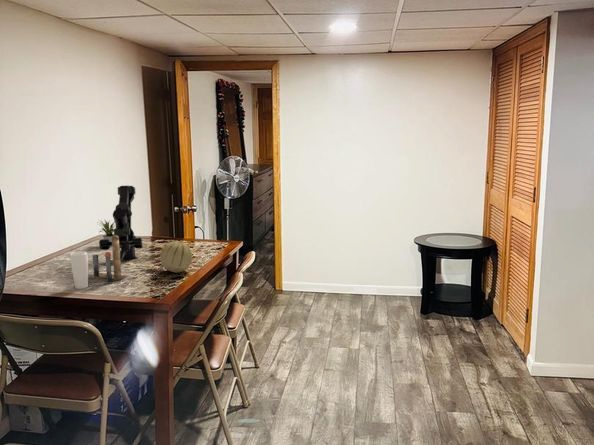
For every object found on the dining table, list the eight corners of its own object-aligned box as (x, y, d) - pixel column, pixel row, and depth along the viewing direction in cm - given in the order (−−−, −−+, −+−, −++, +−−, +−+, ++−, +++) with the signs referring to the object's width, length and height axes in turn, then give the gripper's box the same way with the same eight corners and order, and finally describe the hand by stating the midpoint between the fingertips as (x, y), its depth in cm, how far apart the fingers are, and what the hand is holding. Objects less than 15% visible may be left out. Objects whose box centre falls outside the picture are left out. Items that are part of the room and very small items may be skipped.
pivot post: (97, 274, 241) (96, 253, 239) (104, 276, 238) (102, 255, 237) (89, 276, 237) (87, 255, 235) (95, 278, 235) (94, 257, 233)
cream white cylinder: (76, 285, 226) (73, 251, 223) (92, 284, 226) (89, 251, 223) (70, 290, 219) (67, 255, 216) (87, 289, 220) (84, 255, 217)
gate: (97, 277, 236) (94, 233, 232) (102, 275, 238) (99, 232, 235) (118, 280, 231) (115, 236, 227) (123, 278, 234) (120, 234, 230)
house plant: (88, 248, 289) (86, 219, 286) (104, 242, 302) (102, 214, 299) (110, 250, 285) (108, 220, 282) (125, 244, 298) (124, 216, 295)
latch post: (110, 280, 233) (108, 250, 230) (116, 281, 230) (114, 251, 228) (102, 282, 229) (100, 252, 227) (108, 284, 227) (106, 253, 224)
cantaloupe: (154, 272, 244) (152, 241, 241) (177, 265, 256) (176, 235, 253) (176, 278, 236) (175, 246, 233) (199, 270, 248) (198, 239, 245)
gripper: (98, 222, 237) (96, 252, 229) (140, 220, 241) (140, 250, 233) (102, 235, 247) (100, 264, 239) (143, 233, 251) (142, 261, 242)
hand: (120, 259), depth 238 cm, fingers closed
